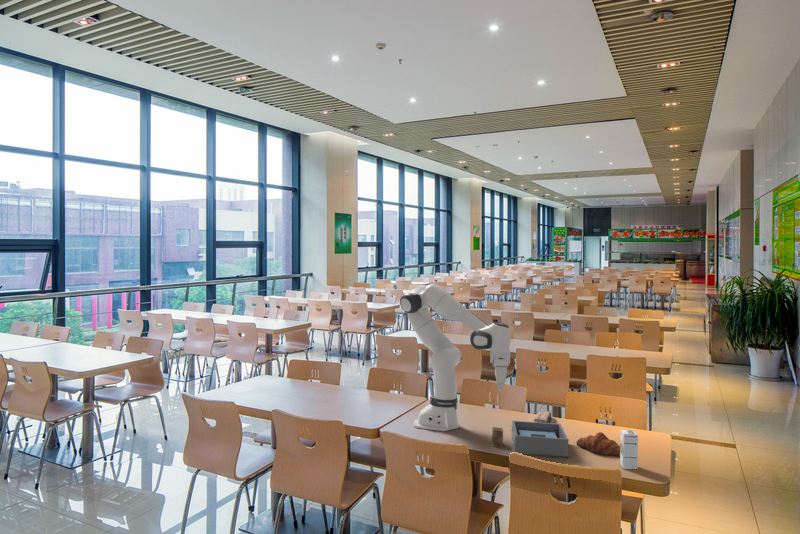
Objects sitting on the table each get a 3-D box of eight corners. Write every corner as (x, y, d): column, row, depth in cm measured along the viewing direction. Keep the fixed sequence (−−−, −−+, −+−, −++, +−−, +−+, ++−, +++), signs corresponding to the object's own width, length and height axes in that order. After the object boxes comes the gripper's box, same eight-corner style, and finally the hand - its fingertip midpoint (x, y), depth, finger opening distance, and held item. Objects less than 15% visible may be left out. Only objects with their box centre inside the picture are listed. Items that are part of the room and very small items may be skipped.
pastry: (612, 445, 246) (612, 427, 246) (627, 457, 230) (628, 439, 230) (575, 444, 245) (576, 427, 245) (588, 457, 230) (589, 438, 230)
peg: (492, 445, 240) (492, 430, 240) (492, 442, 245) (492, 427, 245) (502, 446, 240) (503, 431, 239) (502, 443, 244) (502, 427, 244)
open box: (514, 454, 230) (515, 435, 230) (511, 437, 252) (512, 420, 252) (567, 458, 227) (568, 439, 227) (559, 441, 249) (560, 423, 249)
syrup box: (637, 470, 216) (639, 434, 215) (622, 469, 217) (623, 433, 216) (634, 465, 221) (635, 430, 221) (619, 464, 222) (620, 429, 222)
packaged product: (551, 420, 266) (530, 417, 270) (550, 430, 266) (530, 427, 270) (555, 411, 283) (536, 408, 287) (555, 420, 283) (536, 417, 287)
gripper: (492, 354, 253) (491, 383, 253) (494, 362, 232) (493, 394, 233) (505, 355, 252) (505, 384, 252) (508, 363, 232) (508, 395, 232)
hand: (499, 389), depth 242 cm, fingers open, 8 cm apart
